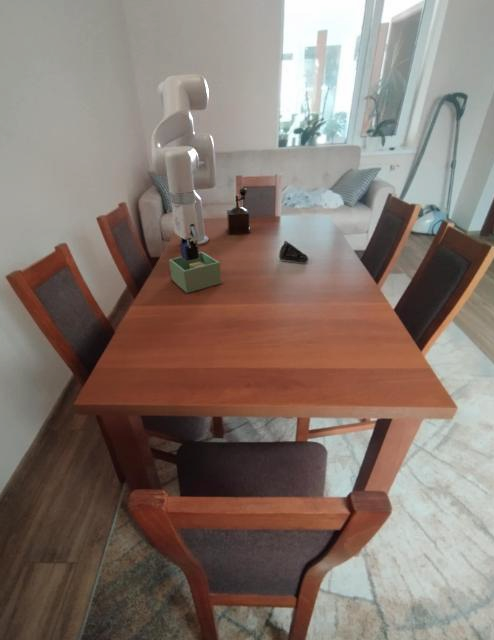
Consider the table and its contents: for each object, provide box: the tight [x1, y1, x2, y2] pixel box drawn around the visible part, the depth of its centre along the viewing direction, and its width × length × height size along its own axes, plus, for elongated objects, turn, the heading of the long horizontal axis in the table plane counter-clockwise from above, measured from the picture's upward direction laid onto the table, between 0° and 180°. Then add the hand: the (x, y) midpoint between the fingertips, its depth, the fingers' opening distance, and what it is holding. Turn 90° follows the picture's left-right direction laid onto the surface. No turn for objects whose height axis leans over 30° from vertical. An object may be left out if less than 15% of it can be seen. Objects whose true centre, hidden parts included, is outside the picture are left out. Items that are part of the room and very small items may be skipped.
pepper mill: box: [226, 187, 251, 236], centre depth 164 cm, size 16×11×18 cm
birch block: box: [189, 261, 205, 269], centre depth 121 cm, size 5×5×5 cm
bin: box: [168, 251, 222, 294], centre depth 118 cm, size 14×14×8 cm
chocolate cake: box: [278, 240, 309, 265], centre depth 133 cm, size 10×7×12 cm
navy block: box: [179, 241, 200, 261], centre depth 111 cm, size 5×5×5 cm
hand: (190, 256), depth 112 cm, fingers closed on navy block, 4 cm apart
